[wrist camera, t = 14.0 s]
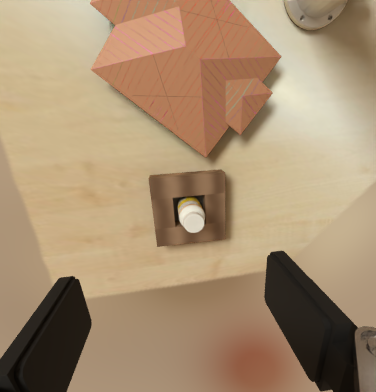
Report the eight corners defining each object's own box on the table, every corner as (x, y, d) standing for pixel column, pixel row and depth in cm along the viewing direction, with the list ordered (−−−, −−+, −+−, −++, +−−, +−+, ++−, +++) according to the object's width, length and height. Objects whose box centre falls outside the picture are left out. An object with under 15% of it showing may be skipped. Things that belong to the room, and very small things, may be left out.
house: (212, 163, 45) (222, 169, 37) (74, 57, 36) (49, 37, 29) (281, 72, 41) (308, 58, 33) (143, -74, 32) (136, -139, 24)
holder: (220, 169, 45) (225, 172, 42) (221, 232, 50) (225, 239, 47) (150, 175, 44) (148, 179, 41) (157, 238, 49) (157, 246, 46)
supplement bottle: (177, 194, 46) (180, 209, 37) (200, 195, 46) (209, 210, 37) (176, 215, 47) (179, 235, 38) (198, 216, 48) (206, 236, 39)
